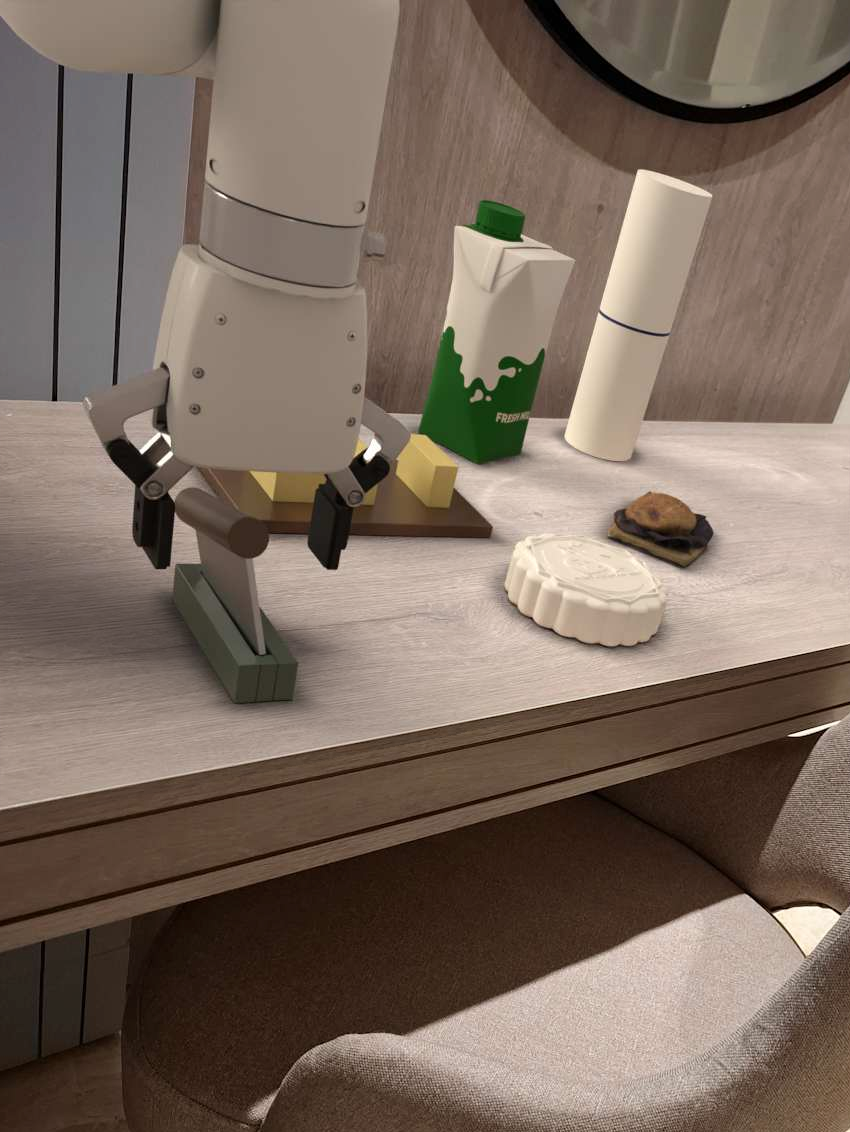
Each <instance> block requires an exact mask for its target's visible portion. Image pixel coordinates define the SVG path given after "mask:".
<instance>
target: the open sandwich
mask: <svg viewBox="0 0 850 1132" xmlns="http://www.w3.org/2000/svg"><path fill="white" fill-rule="evenodd" d="M606 536H607V537H608V538H610V537H611V538H614V539H619V540H621V541H622V542H623V543H627V544H631V545H633V546H636V547H638V548H642V549H644V550H646V551H648V553H651V554H653V555H655V556H658V557H661V558H663V559H667V560H669V561H671V562H674V563H677V564H679V565H680V566H683V567H685V566H687V565H689V564H691V563H692V562H694V561H695V560H697V559H698V557H699V556H700V555H701V554H702V552H703V551H704V549H705V548H706V547H707V546H708V543H710V541H711V540H712V538H713V536H714V529H713V528H712V526H711V524H710V523H709V521H708V520H707V516H706V515H704V514H701V513H695V512H693V510H692V509H691V508H690V507H689V505H687V504H686V503H685V502H683V501H682V500H681V499H679V498H677V497H675V496H672V495H670V494H667V493H663V492H652V491H648V492H646V493H645V494H643V495H641V496H639V497H637V498H636V499H635V500H633V501H632V502H631V503H630V504H629V505H628V507H627V508H621V509H617V510H616V511H615V512H614V514H613V523H612V524H611V527H610V528H609V530H608V532H607V535H606Z"/></svg>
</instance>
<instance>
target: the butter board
mask: <svg viewBox="0 0 850 1132" xmlns="http://www.w3.org/2000/svg"><path fill="white" fill-rule="evenodd" d="M398 460H399V459H396V460H395V462H392V464H391V465H390V472H389V474H388V475H387V476H386V477H385V478H384V479H383V480H381V481H380V482H379V483H378V486H377V491H376V496H375V502H374V505H360V506H358V507H354V509H353V514H352V520H351V526H350V531H349V535H355V536H357V535H358V536H359V535H360V536H396V537H397V536H403V537H444V538H445V537H449V538H491V536H492V532H493V529H494V526H493V525H492V524H491V523H490V522H489V521H488V520H487V519H486V518H485V517H484V516H483V515H482V514H481V513H480V512H479V511H478V510H477V509H476V508H475V507H474V506H473V505H472V503H470V502H469V501H468V500H467V499H466V498H465V497H464V495H462V494H461V492H459V491H458V490H457V488H455V487H454V489H453V493H452V497H451V502H450V506H449V508H437V507H427V506H426V505H425V504H424V503H423V502H422V501H421V500H420V499H419V498H418V497H417V496H416V495H415V494H414V493H413V492H412V491H411V490H410V489H409V488H408V486H407V485H406V484H405V483H404V482H403V481H402V480H401V479H400V478H399V477H398V476H397V475H396V470H397V465H398ZM197 468H198V470H199V472H200V473H201V474H202V476H203V477H204V478H205V480H206V481H207V483H208V484H209V485H210V486H211V488H212V489H213V490H214V492H215V494H216V495H217V496H218V498H219V499H220V500H222V501H224V502H226V503H228V504H230V505H232V506H234V507H236V508H237V509H239V510H241V511H243V512H245V513H247V514H249V515H251V516H253V517H255V518H257V519H259V520H260V521H261V522H263V524H264V525H265V526H266V528H267V530H268V533H269V534H308V535H309V529H310V522H311V516H312V510H313V504H314V503H304V502H278V501H272V500H271V498H270V497H269V496H268V494H267V493H266V492H265V491H264V489H263V488H262V487H261V485H260V484H259V483H258V482H257V480H256V479H255V478H254V477H253V475H252V474H251V473H250V471H238V470H222V469H208V468H200V467H197Z"/></svg>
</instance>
